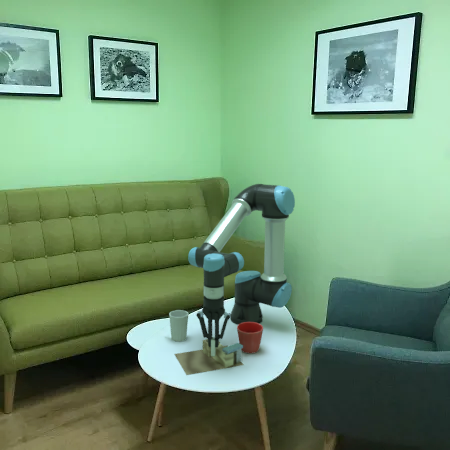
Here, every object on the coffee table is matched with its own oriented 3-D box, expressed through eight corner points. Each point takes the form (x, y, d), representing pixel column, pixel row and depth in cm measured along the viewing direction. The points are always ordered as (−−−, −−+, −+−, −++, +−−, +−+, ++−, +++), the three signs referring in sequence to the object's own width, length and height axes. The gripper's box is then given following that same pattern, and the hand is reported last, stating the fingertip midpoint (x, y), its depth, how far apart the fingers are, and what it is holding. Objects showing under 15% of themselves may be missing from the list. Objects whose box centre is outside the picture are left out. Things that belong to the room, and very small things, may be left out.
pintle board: (227, 347, 192) (227, 345, 192) (244, 367, 176) (244, 364, 176) (174, 356, 184) (174, 353, 184) (186, 377, 168) (186, 375, 168)
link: (235, 364, 176) (235, 352, 175) (224, 367, 174) (224, 355, 173) (212, 348, 188) (213, 337, 187) (202, 352, 186) (202, 340, 185)
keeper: (221, 365, 175) (222, 348, 174) (236, 359, 180) (237, 342, 179) (227, 368, 173) (227, 351, 172) (242, 362, 178) (243, 345, 177)
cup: (185, 345, 193) (185, 318, 191) (166, 343, 195) (166, 316, 192) (190, 337, 201) (190, 311, 198) (172, 335, 202) (172, 309, 200)
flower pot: (232, 352, 188) (233, 329, 186) (241, 341, 198) (242, 319, 196) (257, 357, 184) (258, 334, 182) (265, 345, 194) (266, 324, 192)
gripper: (194, 298, 170) (194, 358, 175) (229, 300, 168) (229, 360, 173) (198, 291, 177) (198, 348, 182) (232, 293, 175) (231, 351, 180)
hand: (213, 354), depth 177 cm, fingers closed
